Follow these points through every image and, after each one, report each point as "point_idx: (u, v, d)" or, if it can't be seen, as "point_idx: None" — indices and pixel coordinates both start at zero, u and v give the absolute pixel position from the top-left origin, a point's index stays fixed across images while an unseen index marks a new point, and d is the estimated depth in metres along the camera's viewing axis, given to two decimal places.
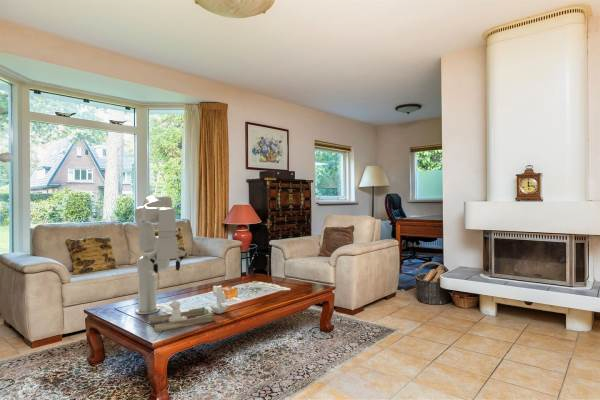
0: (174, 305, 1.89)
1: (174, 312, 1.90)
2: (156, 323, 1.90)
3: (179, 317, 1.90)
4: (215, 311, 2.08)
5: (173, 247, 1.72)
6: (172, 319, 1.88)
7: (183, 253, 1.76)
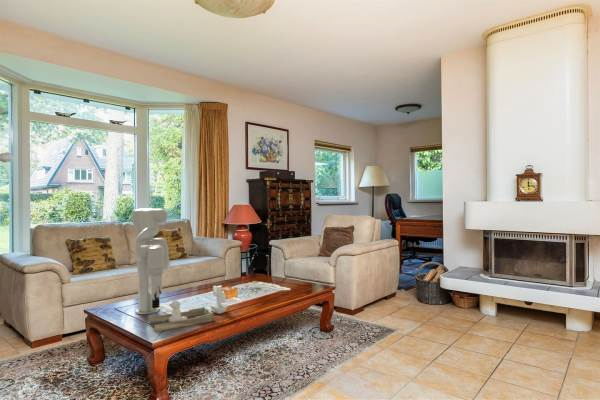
0: (174, 305, 1.89)
1: (174, 312, 1.90)
2: (156, 323, 1.90)
3: (179, 317, 1.90)
4: (215, 311, 2.08)
5: None
6: (172, 319, 1.88)
7: None
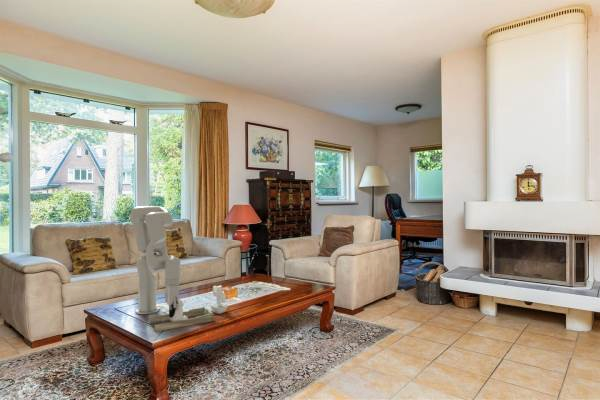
0: (178, 304, 1.89)
1: (177, 311, 1.90)
2: (156, 323, 1.90)
3: (181, 317, 1.90)
4: (215, 311, 2.08)
5: None
6: (174, 318, 1.88)
7: None
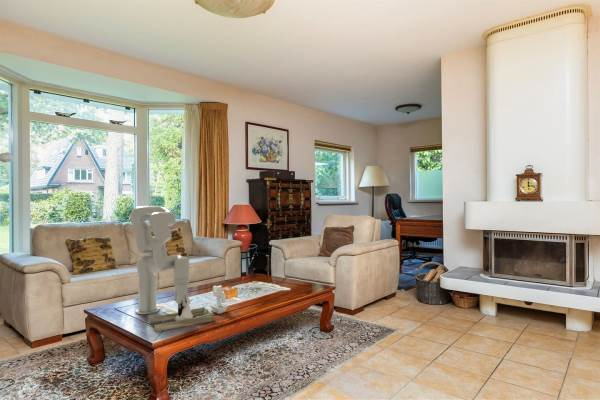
0: None
1: (186, 308, 1.92)
2: (156, 323, 1.90)
3: (190, 313, 1.93)
4: (215, 311, 2.08)
5: None
6: (185, 315, 1.90)
7: None
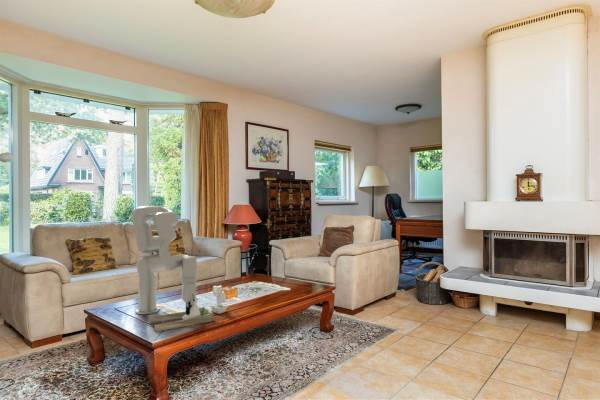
0: None
1: (194, 306, 1.94)
2: (156, 323, 1.90)
3: (199, 311, 1.96)
4: (215, 311, 2.08)
5: None
6: (194, 313, 1.92)
7: None
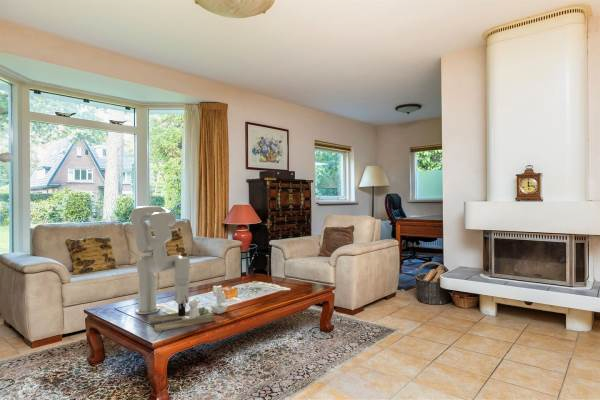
0: (195, 303, 1.93)
1: (194, 310, 1.93)
2: (156, 323, 1.90)
3: (199, 314, 1.95)
4: (215, 311, 2.08)
5: None
6: (194, 317, 1.92)
7: None
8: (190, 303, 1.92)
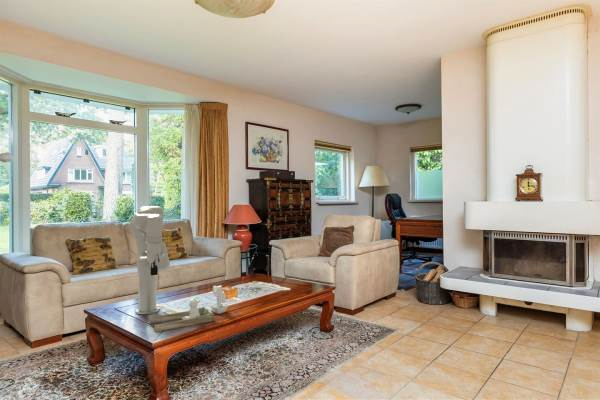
0: (195, 303, 1.93)
1: (194, 310, 1.93)
2: (156, 323, 1.90)
3: (199, 314, 1.95)
4: (215, 311, 2.08)
5: None
6: (194, 317, 1.92)
7: None
8: (190, 303, 1.92)
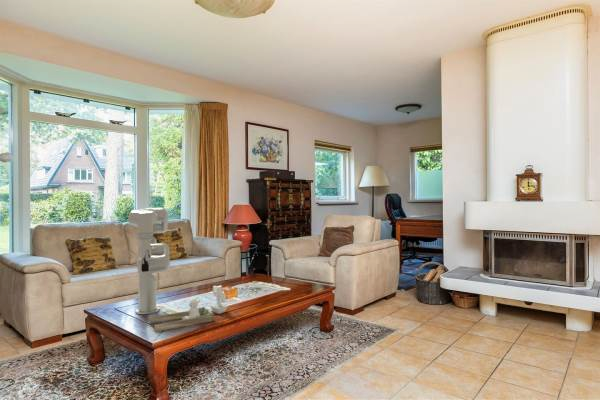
0: (195, 303, 1.93)
1: (194, 310, 1.93)
2: (156, 323, 1.90)
3: (199, 314, 1.95)
4: (215, 311, 2.08)
5: None
6: (194, 317, 1.92)
7: None
8: (190, 303, 1.92)
